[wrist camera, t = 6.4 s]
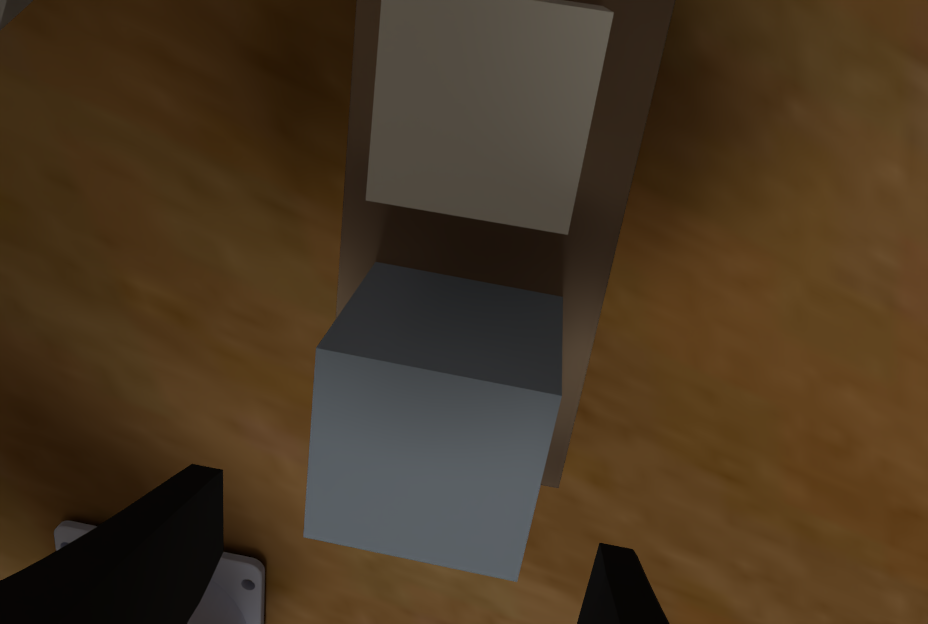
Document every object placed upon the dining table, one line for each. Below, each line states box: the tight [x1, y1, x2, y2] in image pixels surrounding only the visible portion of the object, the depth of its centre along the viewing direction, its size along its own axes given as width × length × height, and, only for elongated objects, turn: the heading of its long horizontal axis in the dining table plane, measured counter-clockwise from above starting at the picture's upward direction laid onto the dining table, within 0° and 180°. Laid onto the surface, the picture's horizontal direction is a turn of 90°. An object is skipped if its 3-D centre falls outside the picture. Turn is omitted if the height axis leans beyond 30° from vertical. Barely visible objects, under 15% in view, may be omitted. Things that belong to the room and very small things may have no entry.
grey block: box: [366, 0, 614, 235], centre depth 15 cm, size 4×4×4 cm
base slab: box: [336, 0, 675, 488], centre depth 19 cm, size 14×7×2 cm, turn 172°
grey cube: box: [303, 262, 563, 582], centre depth 18 cm, size 5×5×5 cm
